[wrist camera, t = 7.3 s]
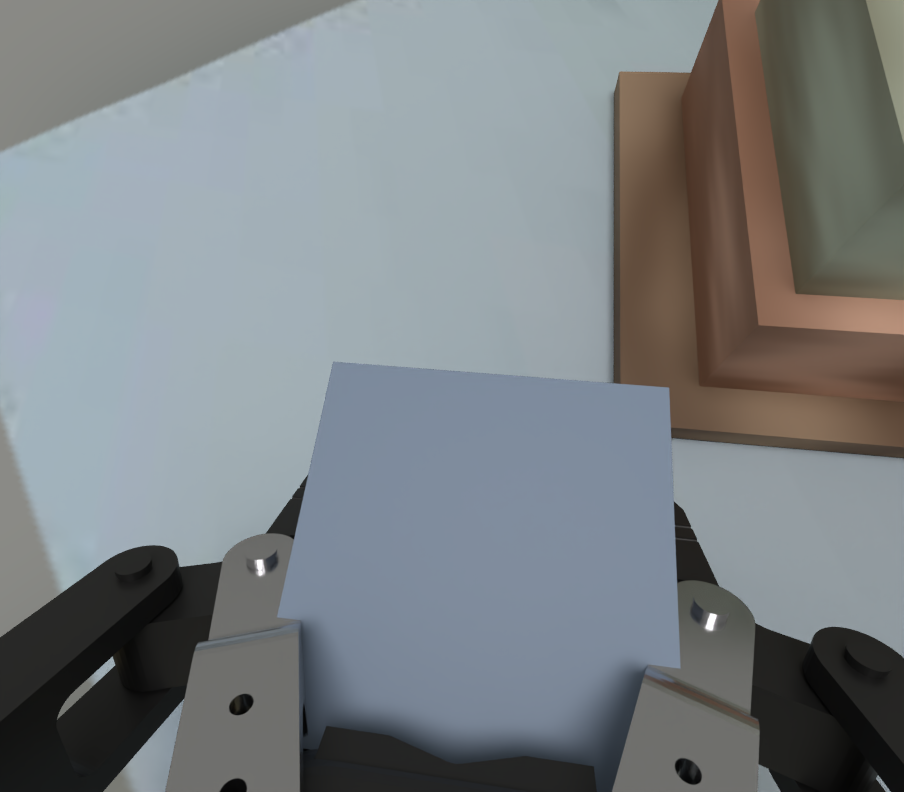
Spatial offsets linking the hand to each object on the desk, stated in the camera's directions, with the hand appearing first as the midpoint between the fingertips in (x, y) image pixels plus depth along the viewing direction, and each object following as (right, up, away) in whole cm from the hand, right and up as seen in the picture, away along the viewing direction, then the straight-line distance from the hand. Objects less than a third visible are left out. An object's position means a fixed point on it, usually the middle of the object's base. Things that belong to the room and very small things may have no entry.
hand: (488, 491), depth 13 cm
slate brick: (0, -3, +3) cm, 5 cm away
